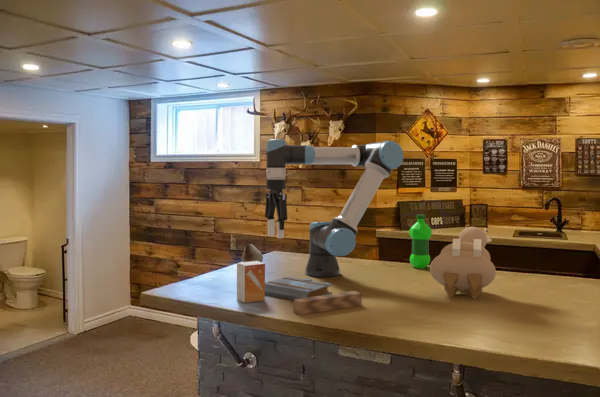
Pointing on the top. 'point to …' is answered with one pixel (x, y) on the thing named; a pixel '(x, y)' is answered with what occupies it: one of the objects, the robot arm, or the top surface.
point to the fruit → (251, 254)
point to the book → (296, 288)
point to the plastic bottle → (420, 243)
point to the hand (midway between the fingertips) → (275, 236)
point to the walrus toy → (464, 264)
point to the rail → (327, 302)
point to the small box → (250, 281)
